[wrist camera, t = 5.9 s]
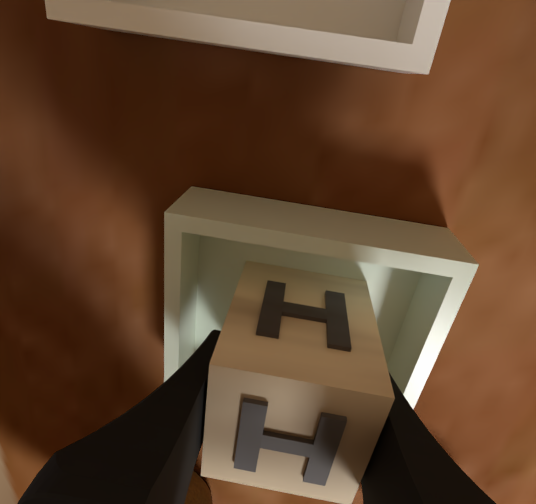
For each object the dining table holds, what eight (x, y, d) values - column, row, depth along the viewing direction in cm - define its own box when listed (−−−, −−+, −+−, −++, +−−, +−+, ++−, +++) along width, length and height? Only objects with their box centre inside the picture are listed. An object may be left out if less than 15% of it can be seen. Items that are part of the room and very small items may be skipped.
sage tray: (184, 372, 19) (164, 420, 17) (191, 186, 15) (164, 212, 12) (378, 408, 19) (388, 464, 16) (448, 228, 14) (478, 264, 12)
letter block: (339, 370, 17) (351, 510, 12) (235, 351, 17) (199, 480, 12) (367, 277, 15) (397, 398, 9) (246, 257, 15) (208, 364, 10)
